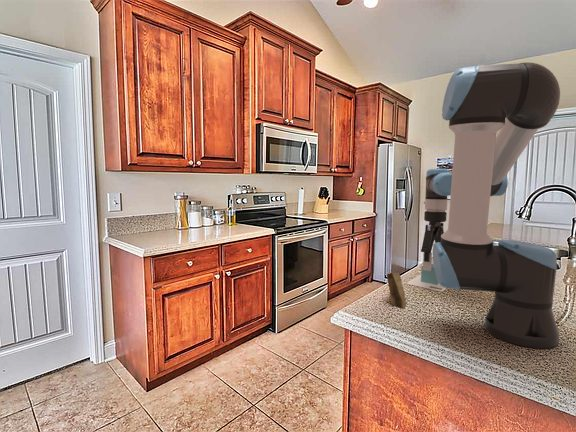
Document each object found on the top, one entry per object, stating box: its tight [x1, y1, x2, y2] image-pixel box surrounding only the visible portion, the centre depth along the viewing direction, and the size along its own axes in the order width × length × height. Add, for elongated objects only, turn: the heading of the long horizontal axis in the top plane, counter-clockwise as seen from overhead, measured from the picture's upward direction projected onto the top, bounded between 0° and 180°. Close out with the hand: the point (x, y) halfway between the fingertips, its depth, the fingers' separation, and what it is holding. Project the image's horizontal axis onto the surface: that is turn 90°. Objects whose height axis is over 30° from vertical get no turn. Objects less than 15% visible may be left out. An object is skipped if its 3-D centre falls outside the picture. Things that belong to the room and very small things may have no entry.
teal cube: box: [420, 263, 439, 285], centre depth 123 cm, size 6×6×6 cm
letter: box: [405, 273, 448, 292], centre depth 123 cm, size 18×13×1 cm
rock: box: [386, 271, 407, 309], centre depth 103 cm, size 11×9×10 cm
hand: (432, 267), depth 122 cm, fingers open, 13 cm apart
